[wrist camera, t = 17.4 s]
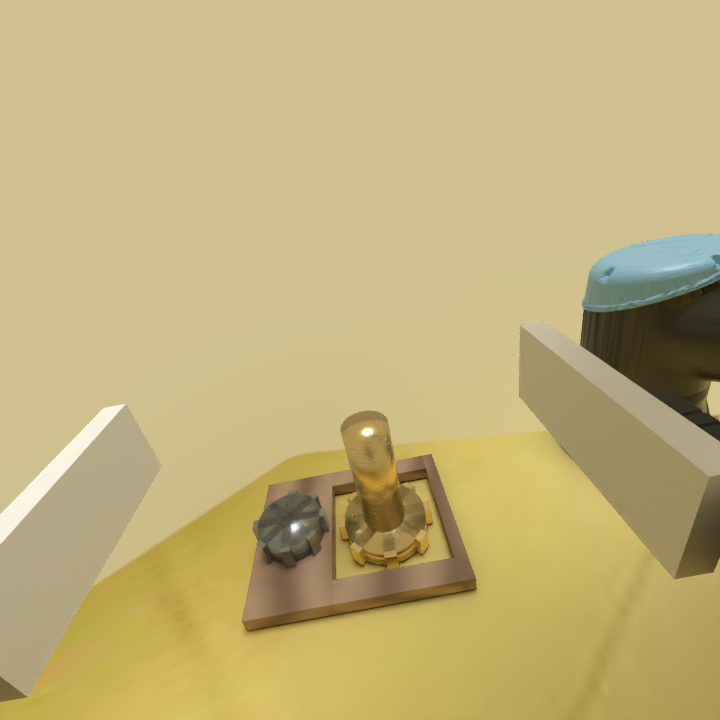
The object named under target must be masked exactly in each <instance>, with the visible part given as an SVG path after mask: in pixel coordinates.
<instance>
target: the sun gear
mask: <svg viewBox="0 0 720 720" xmlns="http://www.w3.org/2000/svg"><path fill="white" fill-rule="evenodd" d="M264 507H265V509H266V510H265V511H264V512H263V514H262V515H261V517H260V519H259V520H258V521H254V524H253V529H252V530H253V532H254V534H255V536H256V538H257V540H258V543H257V546H258V548H259V550H260V552H261V555H262V557H263V559H264V560H265V561H266V562H267V563H268V564H269V565H270V564H271V563H272V562H273V561H276V562H279V563H284V564H285V566H286V568H287V569H288V568H293V567H297V562H298V561H300V560H302V559H304V558H306V557H307V556H309V555H310V554H313V555H314V556H316V555H317V554H318V553H319V551H320V550H321V549H322V547H321V544H320V543H321V541H322V539H323V536H324V533H325V532H329V521H328V518H327V515H326V512H325V509H324V508H322V507H321V504H320V501H319V498H318V496H317V495H316V494H314V493H313V492H311V493H310V494H309V495H306V494H300V493H297V490H293V491H288V494H287V495H286V496H284V497H281V498H279V499H278V500H276V501H272V500H270V501H269V502H268V503H267V504H266V505H265V506H264Z"/></svg>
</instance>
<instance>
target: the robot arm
mask: <svg viewBox="0 0 720 720" xmlns="http://www.w3.org/2000/svg"><path fill="white" fill-rule="evenodd" d="M582 306H583V309H584V313H583V323H582V333H581V343H580V345H578V344H577V343H576V342H574V341H573V340H571V339H570V338H568V337H567V336H565V335H564V334H563V333H561V332H560V331H558V330H557V329H555V328H554V327H553V326H551V325H550V324H548V323H546V322H545V321H538V322H533V323H528V324H523V325H520V363H519V364H520V365H519V367H520V368H519V397H520V398H521V399H522V400H523V401H524V402H525V404H526V405H527V406H528V407H529V408H530V409H531V411H532V412H533V413H534V414H535V415H536V417H537V418H538V419H539V420H540V421H541V423H542V424H543V425H544V426H545V427H546V428H547V430H548V431H549V432H550V433H551V434H552V436H553V437H554V438H555V439H556V440H557V442H558V443H559V444H560V445H561V446H562V447H563V449H564V450H565V451H566V452H567V453H568V455H569V456H570V457H571V458H572V459H573V460H574V462H575V463H576V464H577V465H578V466H579V468H580V469H581V470H582V471H583V472H584V473H585V475H586V476H587V477H588V478H589V479H590V481H591V482H592V483H593V484H594V485H595V486H596V488H597V489H598V490H599V491H600V492H601V494H602V495H603V496H604V497H605V498H606V499H607V501H608V502H609V503H610V504H611V505H612V507H613V508H614V509H615V510H616V511H617V512H618V514H619V515H620V516H621V517H622V518H623V520H624V521H625V522H626V523H627V524H628V525H629V527H630V528H631V529H632V530H633V531H634V533H635V534H636V535H637V536H638V537H639V538H640V540H641V541H642V542H643V543H644V544H645V546H646V547H647V548H648V549H649V550H650V551H651V553H652V554H653V555H654V556H655V557H656V559H657V560H658V561H659V562H660V563H661V564H662V566H663V567H664V568H665V569H666V570H667V572H668V573H669V574H670V575H671V576H672V577H673V579H678V578H684V577H689V576H695V575H700V574H706V573H711V572H714V569H715V567H716V565H717V562H718V560H719V558H720V422H719V420H717V419H716V418H714V417H712V416H711V415H710V414H709V408H708V403H707V394H708V390H709V387H710V384H711V381H716V382H720V234H717V235H712V234H692V235H682V236H673V237H667V238H661V239H655V240H650V241H646V242H641V243H638V244H633V245H630V246H627V247H624V248H621V249H618V250H615V251H613V252H611V253H609V254H607V255H606V256H604V257H602V258H601V259H599V260H598V261H597V262H596V263H595V264H594V266H593V267H592V269H591V270H590V273H589V277H588V283H587V288H586V294H585V298H584V299H583V301H582ZM161 466H162V465H161V463H160V461H159V460H158V458H157V456H156V454H155V453H154V451H153V449H152V448H151V446H150V444H149V442H148V441H147V439H146V437H145V436H144V434H143V432H142V430H141V429H140V427H139V425H138V424H137V422H136V420H135V418H134V417H133V415H132V413H131V412H130V410H129V408H128V406H127V405H126V404H122V405H118V406H113V407H107V408H103V409H102V410H101V411H100V412H99V413H98V414H97V416H96V417H95V418H94V419H93V420H92V421H91V422H90V423H89V424H88V425H87V426H86V427H85V428H84V429H83V430H82V431H81V432H80V433H79V434H78V435H77V436H76V437H75V438H74V439H73V440H72V441H71V442H70V443H69V444H68V445H67V446H66V447H65V448H64V449H63V451H62V452H61V453H60V454H59V455H58V456H57V457H56V458H55V459H54V460H53V461H52V462H51V463H50V464H49V465H48V466H47V467H46V468H45V469H44V470H43V471H42V472H41V473H40V474H39V475H38V476H37V477H36V478H35V479H34V480H33V481H32V483H31V484H30V485H28V486H27V488H26V489H25V490H24V491H23V492H22V493H21V494H20V495H19V496H18V497H17V498H16V499H15V500H14V501H13V502H12V503H11V504H10V505H9V506H8V507H7V508H6V509H5V510H4V511H3V512H2V513H1V514H0V702H3V701H9V700H14V699H20V698H25V697H28V695H29V694H30V692H31V690H32V689H33V687H34V685H35V683H36V682H37V680H38V678H39V677H40V675H41V673H42V671H43V670H44V668H45V666H46V664H47V663H48V661H49V659H50V658H51V656H52V654H53V652H54V651H55V649H56V647H57V646H58V644H59V642H60V640H61V639H62V637H63V635H64V633H65V632H66V630H67V628H68V627H69V625H70V623H71V621H72V620H73V618H74V616H75V615H76V613H77V611H78V609H79V608H80V606H81V604H82V602H83V601H84V599H85V597H86V596H87V594H88V592H89V590H90V589H91V587H92V585H93V584H94V582H95V580H96V578H97V577H98V574H99V573H100V571H101V570H102V568H103V566H104V565H105V563H106V561H107V559H108V558H109V556H110V554H111V552H112V551H113V549H114V547H115V546H116V544H117V542H118V540H119V539H120V537H121V535H122V534H123V532H124V530H125V528H126V526H127V525H128V523H129V521H130V519H131V518H132V516H133V515H134V513H135V511H136V509H137V508H138V506H139V504H140V503H141V501H142V499H143V497H144V496H145V494H146V492H147V490H148V489H149V487H150V485H151V484H152V482H153V480H154V478H155V477H156V475H157V473H158V472H159V470H160V468H161Z"/></svg>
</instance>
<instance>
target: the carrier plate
mask: <svg viewBox="0 0 720 720" xmlns="http://www.w3.org/2000/svg"><path fill="white" fill-rule="evenodd" d="M395 462H396V468H397V473H398V478H399V483H400V482H405V481H410V480H415V479H420V478H426V477H427V478H428V481H429V485H430V488H431V491H432V494H433V497H434V500H435V504H436V507H437V510H438V513H439V516H440V519H441V522H442V526H443V529H444V532H445V535H446V538H447V541H448V545H449V548H450V551H451V554H452V557H453V558H449V559H444V560H438V561H433V562H428V563H422V564H417V565H412V566H406V567H401V568H395V569H390V570H385V571H379V572H374V573H369V574H363V575H358V576H352V577H347V578H342V579H336V566H335V495H337V494H342V493H347V492H352V491H356V487H355V483H354V479H353V476H352V472H351V470H346V471H340V472H335V473H330V474H325V475H320V476H314V477H309V478H304V479H299V480H294V481H288V482H283V483H278V484H273V485H269V488H268V493H267V498H266V503H265V505H266V504H267V503H268V502H269V501H270V500H272V501H276V500H278V499H279V498H281V497H284V496H286V495H287V494H288V491H293V490H297V493H300V494H306V495H309V494H310V493H311V492H313V493H314V494H316V495H317V496H318V498H319V501H320V504H321V507H322V508H324V509H325V512H326V515H327V518H328V521H329V532H325V533H324V536H323V539H322V541H321V543H320V544H321V547H322V549H321V550H320V551H319V553H318V554H317V555H316V556H314V555H313V554H310V555H309V556H307V557H306V558H304V559H302V560H300V561H298V562H297V567H293V568H288V569H287V568H286V566H285V564H284V563H279V562H276V561H273V562H272V563H271V564H270V565H269V564H268V563H267V562H266V561H265V560H264V559H263V557H262V555H261V552H260V550H259V548H258V546H257V548H256V553H255V558H254V563H253V568H252V573H251V578H250V583H249V588H248V593H247V598H246V603H245V608H244V613H243V618H242V623H243V624H244V626H245V628H246V629H247V631H248V630H253V629H259V628H264V627H270V626H275V625H280V624H286V623H291V622H297V621H302V620H308V619H313V618H318V617H324V616H329V615H335V614H340V613H346V612H351V611H357V610H362V609H367V608H373V607H378V606H384V605H389V604H395V603H400V602H406V601H411V600H416V599H422V598H427V597H433V596H438V595H444V594H449V593H454V592H460V591H465V590H471V589H476V578H475V575H474V572H473V569H472V567H471V564H470V561H469V558H468V555H467V553H466V550H465V547H464V544H463V541H462V539H461V536H460V533H459V530H458V527H457V525H456V522H455V519H454V516H453V513H452V511H451V508H450V505H449V502H448V499H447V497H446V494H445V491H444V488H443V485H442V483H441V480H440V477H439V474H438V471H437V469H436V466H435V463H434V460H433V457H432V455H431V454H429V455H423V456H418V457H413V458H408V459H403V460H397V461H395ZM265 510H266V509H265V508H264V511H265Z"/></svg>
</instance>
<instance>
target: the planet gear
mask: <svg viewBox="0 0 720 720" xmlns="http://www.w3.org/2000/svg"><path fill="white" fill-rule="evenodd" d="M341 434H342V438H343V441H344V446H345V449H346V453H347V457H348V461H349V464H350V468H351V472H352V476H353V479H354V483H355V487H356V491H357V493H356V492H353V493H352V494H351V495H350V496H349V497H348V498H347V499H348V503H349V506H348V508H347V511H346V514H345V517H342V518H339V528H340V531H341V534H342V538H343V540H345V539H349V541H350V544H351V546H350V549H351V552H352V556H353V559H354V560H355V561H357V562H358V563H359V564H361V565H362V566H363V564H364V563H365V562H366V561H369V562H371V563H375V564H380V565H386V566H387V570H390V569H395V568H400V566H399V562H401V561H404V560H406V559H408V558H409V557H411V556H412V555H413V554H414V553H416V552H419V553H421V554H423V553H424V551H425V550H426V549H427V547H428V546H429V544H428V537H427V524H430V523H433V522H432V515H431V509H430V506H429V502H428V501H427V502H422V501H421V499H420V498H419V496H418V495H417V494H416V493H415V486H414V485H412V484H410V483H407V482H405V483H404V484H403V485H400V484H399V478H398V473H397V468H396V462H395V457H394V452H393V446H392V441H391V436H390V430H389V425H388V420H387V418H386V417H385V416H384V415H383V414H381V413H379V412H376V411H363V412H359V413H356V414H353V415H351V416H350V417H349V418H347V419H346V420H345V421H344V422H343V424H342V426H341Z"/></svg>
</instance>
